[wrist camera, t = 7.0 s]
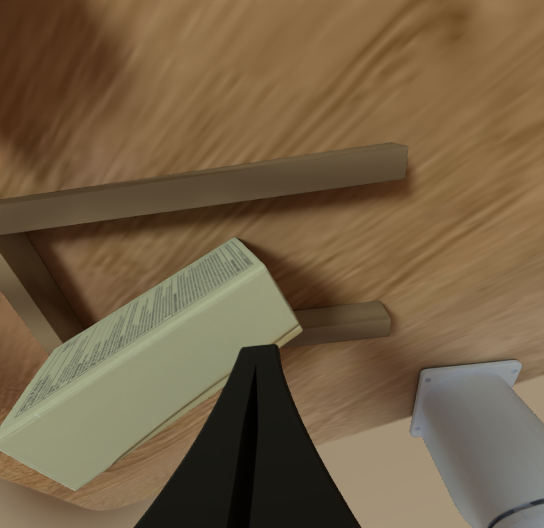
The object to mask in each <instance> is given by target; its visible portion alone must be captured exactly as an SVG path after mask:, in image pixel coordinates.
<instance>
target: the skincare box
mask: <svg viewBox="0 0 544 528" xmlns="http://www.w3.org/2000/svg"><path fill="white" fill-rule="evenodd" d="M302 331H303V329H302V327H301V325H300V323H299V321H298V319H297V318H296V316H295V314H294V312H293V310H292V308H291V307H290V305H289V303H288V302H287V300H286V298H285V297H284V295H283V293H282V292H281V290H280V288H279V287H278V285H277V284H276V282H275V280H274V279H273V277H272V275H271V274H270V272H269V271H268V269H267V268H266V266H265V265H264V264H263V263H262V262H261V261H260V260H259V259H258V258H257V257H256V256H255V255H254V254H253V253H252V252H251V251H250V250H248V249H247V248H246V247H245V245H244V244H243V243H242V242H241V241H239V240H238V239H237V238H236V237H234V238H232V239H230V240H229V241H227V242H225V243H224V244H222V245H221V246H219V247H217V248H216V249H214V250H213V251H211V252H209V253H208V254H206V255H205V256H203V257H201V258H200V259H198V260H197V261H195V262H193V263H192V264H190V265H189V266H187V267H185V268H184V269H182V270H181V271H179V272H177V273H176V274H174V275H173V276H171V277H169V278H168V279H166V280H164V281H163V282H161V283H160V284H158V285H157V286H155V287H153V288H152V289H150V290H149V291H147V292H145V293H144V294H142V295H141V296H139V297H137V298H136V299H134V300H132V301H131V302H129V303H128V304H126V305H124V306H123V307H121V308H120V309H118V310H116V311H115V312H113V313H112V314H110V315H108V316H107V317H105V318H104V319H102V320H100V321H99V322H97V323H96V324H94V325H93V326H91V327H89V328H88V329H86V330H84V331H83V332H81V333H80V334H78V335H76V336H75V337H73V338H72V339H70V340H68V341H67V342H65V343H64V344H62V345H60V346H59V347H57V348H56V349H54V351H53V352H52V354H51V355H50V356H49V357H48V359H47V360H46V362H45V363H44V364H43V366H42V367H41V368H40V370H39V371H38V372H37V374H36V375H35V377H34V378H33V379H32V381H31V382H30V383H29V385H28V386H27V388H26V389H25V391H24V392H23V394H22V395H21V397H20V398H19V400H18V401H17V402H16V404H15V405H14V407H13V408H12V410H11V411H10V413H9V414H8V416H7V417H6V419H5V420H4V422H3V423H2V425H1V426H0V451H2V452H4V453H5V454H7V455H9V456H11V457H13V458H15V459H16V460H18V461H20V462H22V463H23V464H25V465H27V466H29V467H31V468H33V469H35V470H36V471H38V472H40V473H42V474H44V475H46V476H48V477H50V478H51V479H53V480H55V481H57V482H59V483H61V484H63V485H64V486H66V487H68V488H71V489H72V490H75V491H76V490H79V489H80V488H81V487H83V486H84V485H85V484H87V483H88V482H90V481H91V480H93V479H94V478H95V477H97V476H98V475H100V474H101V473H102V472H104V471H105V470H107V469H108V468H109V467H111V466H112V465H114V464H115V463H117V462H118V461H119V460H121V459H122V458H124V457H125V456H127V455H128V454H129V453H131V452H132V451H134V450H135V449H137V448H138V447H140V446H141V445H142V444H144V443H145V442H146V441H148V440H149V439H151V438H152V437H154V436H155V435H157V434H158V433H159V432H161V431H162V430H163V429H165V428H166V427H168V426H169V425H171V424H172V423H173V422H175V421H176V420H178V419H179V418H180V417H182V416H183V415H185V414H186V413H188V412H189V411H191V410H192V409H193V408H195V407H196V406H198V405H199V404H201V403H202V402H203V401H205V400H206V399H208V398H209V397H211V396H212V395H213V394H215V393H216V392H218V391H219V390H220V389H222V388H223V387H224V386H225V384H226V382H227V380H228V378H229V376H230V373H231V371H232V369H233V366H234V364H235V362H236V359H237V357H238V354H239V351H240V349H241V348H242V347H248V346H257V345H267V344H276V345H278V347H279V348H280V347H282V346H283V345H284V344H286V343H287V342H289V341H290V340H291V339H293V338H294V337H296V336H297V335H299V334H300V333H301V332H302Z"/></svg>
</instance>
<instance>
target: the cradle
mask: <svg viewBox="0 0 544 528" xmlns="http://www.w3.org/2000/svg"><path fill="white" fill-rule="evenodd" d="M407 155H408V146H406V145H401V144H396V143H385V144H378V145H371V146H364V147H358V148H351V149H344V150H337V151H330V152H323V153H316V154H310V155H303V156H296V157H289V158H282V159H275V160H268V161H262V162H255V163H248V164H241V165H234V166H227V167H220V168H214V169H207V170H200V171H193V172H186V173H179V174H172V175H166V176H159V177H152V178H145V179H138V180H131V181H124V182H118V183H111V184H104V185H97V186H90V187H83V188H76V189H70V190H63V191H56V192H49V193H42V194H35V195H28V196H22V197H15V198H8V199H1V200H0V291H1V292H2V293H3V295H4V296H5V297H6V299H7V300H8V301H9V303H10V304H11V305H12V307H13V308H14V309H15V311H16V312H17V313H18V315H19V316H20V317H21V319H22V320H23V321H24V323H25V324H26V326H27V327H28V328H29V330H30V331H31V332H32V334H33V335H34V336H35V338H36V339H37V340H38V342H39V343H40V344H41V346H42V347H43V348H44V350H45V351H46V352H47V354H48V355H49V356H50V355H51V354H52V352H53V351H54V349H56V348H57V347H59V346H60V345H62V344H64V343H65V342H67V341H68V340H70V339H72V338H73V337H75V336H76V335H78V334H80V333H81V332H83V331H84V328H83V326H82V325H81V323H80V322H79V320H78V318H77V317H76V315H75V313H74V312H73V310H72V309H71V307H70V305H69V304H68V302H67V300H66V299H65V297H64V296H63V294H62V292H61V291H60V289H59V287H58V286H57V284H56V283H55V281H54V279H53V278H52V276H51V275H50V273H49V271H48V270H47V268H46V266H45V265H44V263H43V262H42V260H41V258H40V257H39V255H38V253H37V252H36V250H35V249H34V247H33V245H32V244H31V242H30V241H29V239H28V237H27V236H26V234H25V232H24V231H32V230H39V229H46V228H53V227H60V226H68V225H75V224H82V223H89V222H96V221H104V220H111V219H118V218H125V217H133V216H140V215H147V214H154V213H161V212H169V211H176V210H183V209H190V208H197V207H205V206H212V205H219V204H226V203H233V202H241V201H248V200H255V199H262V198H270V197H277V196H284V195H291V194H298V193H306V192H313V191H320V190H327V189H334V188H342V187H349V186H356V185H363V184H371V183H378V182H385V181H392V180H399V179H405V175H406V165H407ZM293 312H294V314H295V316H296V318H297V319H298V321H299V323H300V325H301V327H302V329H303V331H302V332H301V333H300V334H299V335H297V336H296V337H294V338H293V339H291V340H290V341H289V342H287V343H286V344H284V345H283V346H282V347H280V348H286V347H295V346H304V345H313V344H323V343H332V342H341V341H350V340H359V339H368V338H378V337H387V336H390V326H391V318H390V316H389V315H388V313H387V312H386V310H385V308H384V307H383V305H382V303H381V302H380V301H375V302H366V303H357V304H349V305H340V306H332V307H323V308H314V309H306V310H297V311H293Z"/></svg>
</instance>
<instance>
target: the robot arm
mask: <svg viewBox="0 0 544 528" xmlns="http://www.w3.org/2000/svg"><path fill="white" fill-rule="evenodd" d="M521 367H522V364H521V363H520V362H519V361H517V360H508V361H499V362H489V363H479V364H469V365H460V366H450V367H440V368H430V369H424V370H423V371H422V372H421V374H420V379H419V384H418V389H417V395H416V400H415V405H414V410H413V416H412V421H411V426H410V434H411V436H412V437H422V438H423V440H424V442H425V444H426V446H427V448H428V450H429V452H430V454H431V456H432V459H433V461H434V463H435V465H436V467H437V469H438V471H439V473H440V475H441V477H442V479H443V481H444V483H445V485H446V487H447V490H448V492H449V494H450V496H451V498H452V500H453V502H454V504H455V506H456V507H457V509H458V511H459V512H460V514H461V515H462V517H463V518H464V519H465V520H466V522H467V523H468V524H469V525H470V526H471V527H472V528H544V424H543V423H542V421H541V420H540V419H539V418H538V417H537V416H536V415H535V414H534V413H533V411H532V410H531V409H530V408H529V407H528V406H527V405H526V404H525V403H524V401H523V400H522V399H521V398H520V397H519V396H518V395H517V394H516V393H515V392H514V390H513V389H512V387H513V385H514V383H515V381H516V379H517V376H518V374H519V372H520V370H521ZM134 528H361V526H360V525H359V523H358V521H357V520H356V518H355V517H354V515H353V514H352V512H351V510H350V509H349V507H348V505H347V503H346V502H345V500H344V498H343V496H342V495H341V493H340V492H339V490H338V488H337V486H336V485H335V483H334V481H333V479H332V478H331V476H330V475H329V472H328V471H327V469H326V467H325V466H324V463H323V462H322V460H321V458H320V456H319V454H318V452H317V450H316V448H315V446H314V444H313V442H312V440H311V438H310V436H309V434H308V432H307V430H306V428H305V426H304V424H303V422H302V419H301V417H300V415H299V413H298V410H297V408H296V406H295V403H294V401H293V398H292V396H291V393H290V390H289V388H288V385H287V382H286V379H285V376H284V373H283V370H282V365H281V359H280V353H279V347H278V345H276V344H267V345H257V346H248V347H242V348H241V349H240V351H239V354H238V357H237V359H236V362H235V364H234V366H233V369H232V371H231V373H230V376H229V378H228V380H227V382H226V384H225V386H224V388H223V390H222V392H221V394H220V396H219V398H218V400H217V402H216V404H215V406H214V408H213V410H212V412H211V413H210V415H209V417H208V419H207V421H206V422H205V424H204V426H203V428H202V430H201V431H200V433H199V435H198V436H197V438H196V440H195V441H194V443H193V445H192V446H191V448H190V449H189V451H188V453H187V454H186V456H185V457H184V459H183V460H182V462H181V463H180V465H179V466H178V468H177V469H176V471H175V472H174V474H173V475H172V476H171V478H170V479H169V481H168V482H167V484H166V485H165V487H164V488H163V489H162V491H161V492H160V494H159V495H158V496H157V498H156V499H155V501H154V502H153V503H152V505H151V506H150V507H149V509H148V510H147V511H146V512H145V514H144V515H143V516H142V518H141V519H140V520H139V521H138V523H137V524H136V525H135V527H134Z"/></svg>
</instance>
